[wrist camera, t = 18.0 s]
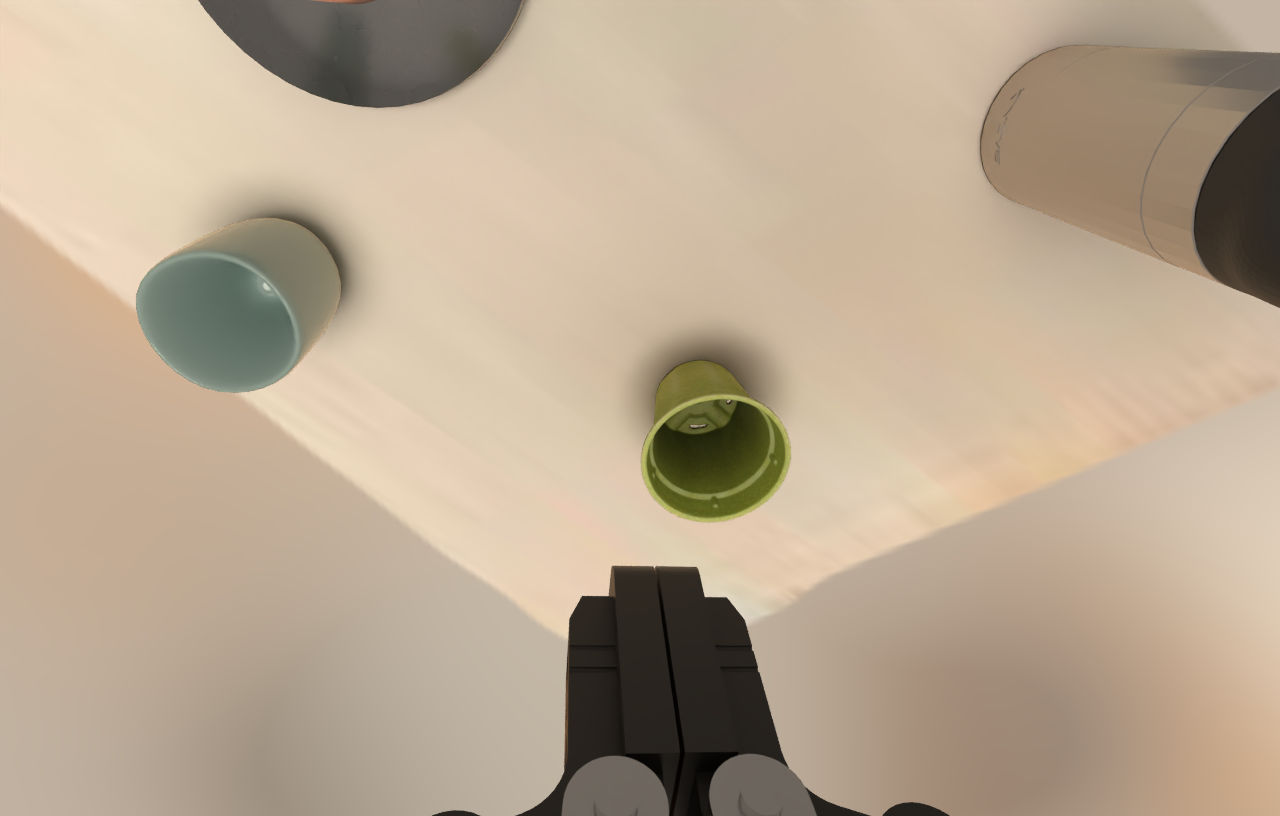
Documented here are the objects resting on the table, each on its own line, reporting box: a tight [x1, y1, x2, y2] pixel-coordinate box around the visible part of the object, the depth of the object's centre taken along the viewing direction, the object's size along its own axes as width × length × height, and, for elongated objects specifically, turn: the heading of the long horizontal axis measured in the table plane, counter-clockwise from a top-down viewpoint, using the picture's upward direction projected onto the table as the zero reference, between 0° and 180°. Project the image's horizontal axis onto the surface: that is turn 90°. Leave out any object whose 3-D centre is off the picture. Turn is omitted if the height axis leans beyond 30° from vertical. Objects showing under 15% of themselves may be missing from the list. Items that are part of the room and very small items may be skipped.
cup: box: [136, 218, 341, 393], centre depth 39 cm, size 8×8×10 cm
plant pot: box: [641, 360, 791, 523], centre depth 47 cm, size 9×9×9 cm
